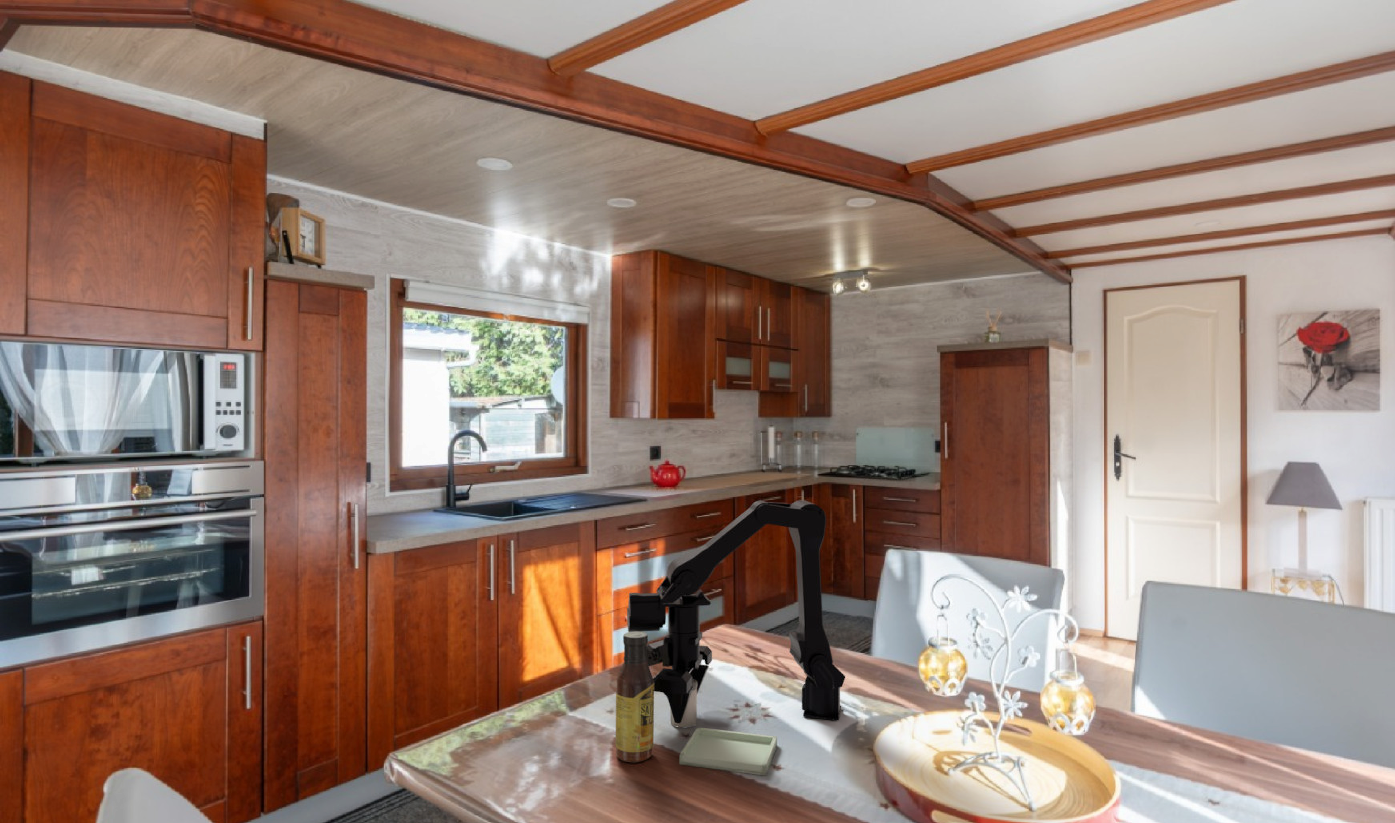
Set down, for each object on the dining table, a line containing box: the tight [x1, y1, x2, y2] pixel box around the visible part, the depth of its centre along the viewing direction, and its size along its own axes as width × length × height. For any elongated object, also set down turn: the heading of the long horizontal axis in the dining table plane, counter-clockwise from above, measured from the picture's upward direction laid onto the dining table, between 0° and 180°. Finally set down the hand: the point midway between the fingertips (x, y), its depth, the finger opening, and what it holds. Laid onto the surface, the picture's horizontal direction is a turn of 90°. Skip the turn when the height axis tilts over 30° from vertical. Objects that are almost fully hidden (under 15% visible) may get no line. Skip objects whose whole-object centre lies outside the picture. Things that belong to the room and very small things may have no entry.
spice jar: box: [669, 678, 698, 728], centre depth 138 cm, size 5×5×7 cm
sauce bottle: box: [615, 631, 655, 763], centre depth 125 cm, size 6×6×20 cm
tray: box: [679, 726, 778, 777], centre depth 125 cm, size 14×11×2 cm
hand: (683, 714), depth 138 cm, fingers open, 7 cm apart
